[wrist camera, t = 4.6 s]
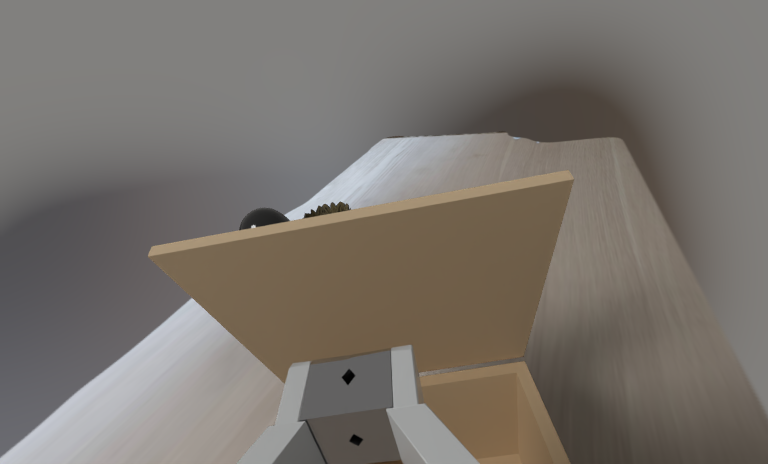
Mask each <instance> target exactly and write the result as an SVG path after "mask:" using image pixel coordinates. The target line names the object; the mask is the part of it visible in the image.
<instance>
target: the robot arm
mask: <svg viewBox="0 0 768 464" xmlns="http://www.w3.org/2000/svg"><path fill="white" fill-rule="evenodd" d="M396 460H402V463H403V464H480V463H479V462H478V461H477V460H476V459H475V458H474V456H473V455H472V454H471V453H470V452H469V451H468V450H467V449H466V448H465V446H464V445H463V444H462V443H461V442H460V441H459V440H458V439H457V438H456V437H455V435H454V434H453V433H452V432H451V431H450V430H449V429H448V428H447V427H446V425H445V424H444V423H443V422H442V421H441V420H440V419H439V418H438V417H437V415H436V414H435V413H434V412H433V411H432V410H431V409H430V408H429V407H428V405H427V404H426V403H424V398H423V393H422V387H421V382H420V377H419V372H418V367H417V363H416V358H415V353H414V349H413V346H412V345H405V346H399V347H393V348H387V349H381V350H375V351H370V352H364V353H358V354H352V355H348V356H340V357H333V358H325V359H317V360H312V361H305V362H298V363H292V365H291V367H290V368H289V370H288V374H287V378H286V382H285V386H284V390H283V394H282V398H281V402H280V406H279V410H278V414H277V418H276V422H275V425H273V426H268V427H267V429H266V430H265V431H264V432H263V433H262V434H261V436H260V437H259V438H258V439H257V440H256V441H255V443H254V444H253V445H252V446H251V447H250V448H249V450H248V451H247V452H246V453H245V454H244V455H243V457H242V458H241V459H240V460H239V461H238V462H237V463H236V464H368V463H378V462H387V461H396Z"/></svg>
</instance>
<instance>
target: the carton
mask: <svg viewBox="0 0 768 464" xmlns="http://www.w3.org/2000/svg"><path fill="white" fill-rule="evenodd" d="M420 382H421V387H422V393H423V398H424V403H426V404H427V405H428V407H429V408H430V409H431V410H432V411H433V412H434V413H435V414H436V415H437V417H438V418H439V419H440V420H441V421H442V422H443V423H444V424H445V425H446V427H447V428H448V429H449V430H450V431H451V432H452V433H453V434H454V435H455V437H456V438H457V439H458V440H459V441H460V442H461V443H462V444H463V445H464V446H465V448H466V449H467V450H468V451H469V452H470V453H471V454H472V455H473V456H474V458H475V459H476V460H477V461H478V462H479V463H480V464H570V461H569V459H568V457H567V455H566V452H565V450H564V448H563V446H562V443H561V441H560V439H559V437H558V434H557V432H556V430H555V428H554V426H553V423H552V421H551V419H550V417H549V414H548V412H547V410H546V408H545V405H544V403H543V401H542V399H541V397H540V394H539V392H538V390H537V388H536V385H535V383H534V381H533V379H532V376H531V374H530V372H529V370H528V367H527V365H526V363H525V361H522V362H515V363H509V364H502V365H495V366H489V367H482V368H475V369H469V370H462V371H455V372H449V373H442V374H435V375H429V376H422V377H420ZM368 464H403V463H402V460H396V461H387V462H378V463H368Z"/></svg>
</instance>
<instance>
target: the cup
mask: <svg viewBox="0 0 768 464" xmlns="http://www.w3.org/2000/svg"><path fill="white" fill-rule="evenodd" d="M330 208H331V209H330ZM348 210H349V205H348V204H346V205H345V204H344V203H342V202H339V203H338V204H337V205H336V206H335V204H334V203H333V202H332V203H331V205H330V207H329V206H328V205H326V204H324V205H323V206H322V207H321V206H318V208H317V210H316V212H315V211H313V210H312V209H311V214H309V213H308V214H306V213H305V215H304V218H310V217H315V216H321V215H326V214H332V213H337V212H343V211H348ZM350 210H351V208H350ZM304 218H303V219H304Z"/></svg>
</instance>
